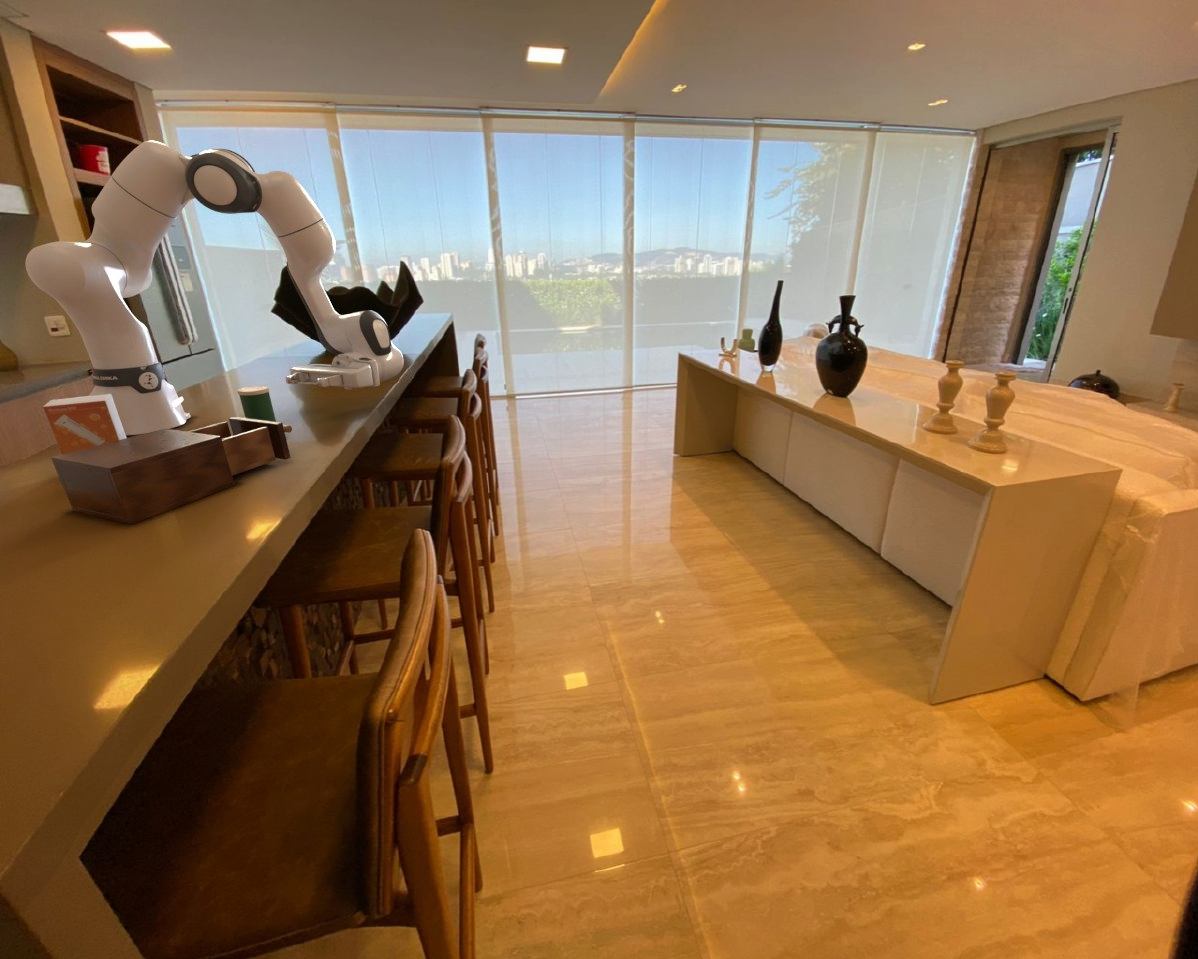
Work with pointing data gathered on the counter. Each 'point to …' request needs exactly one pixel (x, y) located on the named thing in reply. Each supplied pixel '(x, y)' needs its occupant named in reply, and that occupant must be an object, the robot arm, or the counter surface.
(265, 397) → the ball tube
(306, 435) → the counter surface
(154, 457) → the cabinet
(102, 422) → the small box
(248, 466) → the drawer
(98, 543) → the counter surface
